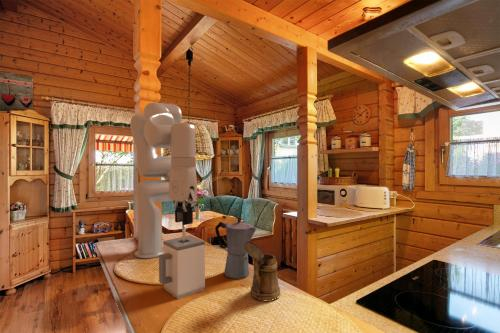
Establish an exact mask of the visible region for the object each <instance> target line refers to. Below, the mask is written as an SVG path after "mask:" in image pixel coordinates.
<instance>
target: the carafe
mask: <svg viewBox="0 0 500 333" xmlns="http://www.w3.org/2000/svg"><path fill="white" fill-rule="evenodd" d="M205 243H206V241H205V240H202V239H199V238H197V237H194V236H192V235H186V242H184V243H182V236H181V237H177V238H171V239H167V240H162V247H163V254H162V255H159V256H158V282H159V284H161V285H163V289H164V290H165V291H166V292H168V293H169V294H171V295H172V296H173V297H174V298H176V300H180V299H182V298H186V297H188V296H191V295H194V294H196V293H199V292H202V291H205V290H206V255H205V254H206V250H205V248H206V246H205V245H206V244H205Z"/></svg>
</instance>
